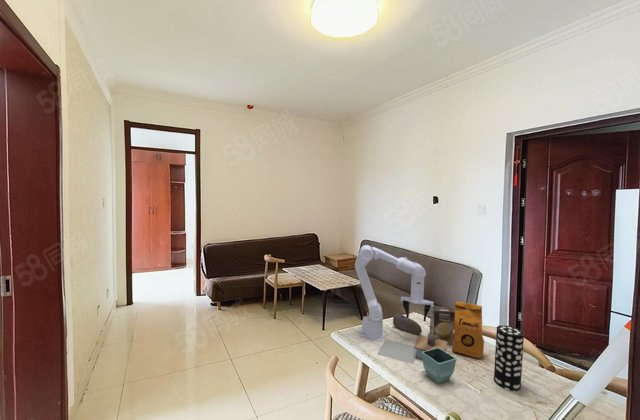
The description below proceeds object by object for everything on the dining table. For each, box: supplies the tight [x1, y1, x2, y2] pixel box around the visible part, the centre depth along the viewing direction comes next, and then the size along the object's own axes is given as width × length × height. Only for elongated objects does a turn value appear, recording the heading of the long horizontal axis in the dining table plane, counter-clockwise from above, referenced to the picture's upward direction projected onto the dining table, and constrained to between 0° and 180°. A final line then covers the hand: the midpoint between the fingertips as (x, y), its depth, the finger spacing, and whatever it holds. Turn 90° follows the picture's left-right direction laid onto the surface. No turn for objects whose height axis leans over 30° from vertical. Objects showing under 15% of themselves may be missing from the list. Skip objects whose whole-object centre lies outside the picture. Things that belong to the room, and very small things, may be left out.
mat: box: [376, 338, 417, 365], centre depth 128 cm, size 15×15×1 cm
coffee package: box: [451, 301, 485, 360], centre depth 128 cm, size 10×12×22 cm
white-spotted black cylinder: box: [493, 324, 525, 392], centre depth 107 cm, size 8×8×20 cm
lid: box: [413, 332, 448, 352], centre depth 124 cm, size 12×12×5 cm
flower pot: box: [421, 348, 457, 384], centre depth 109 cm, size 9×9×9 cm
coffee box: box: [429, 305, 455, 347], centre depth 136 cm, size 9×6×16 cm
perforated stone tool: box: [392, 313, 423, 335], centre depth 147 cm, size 15×5×7 cm, turn 43°
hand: (416, 318), depth 137 cm, fingers open, 7 cm apart
